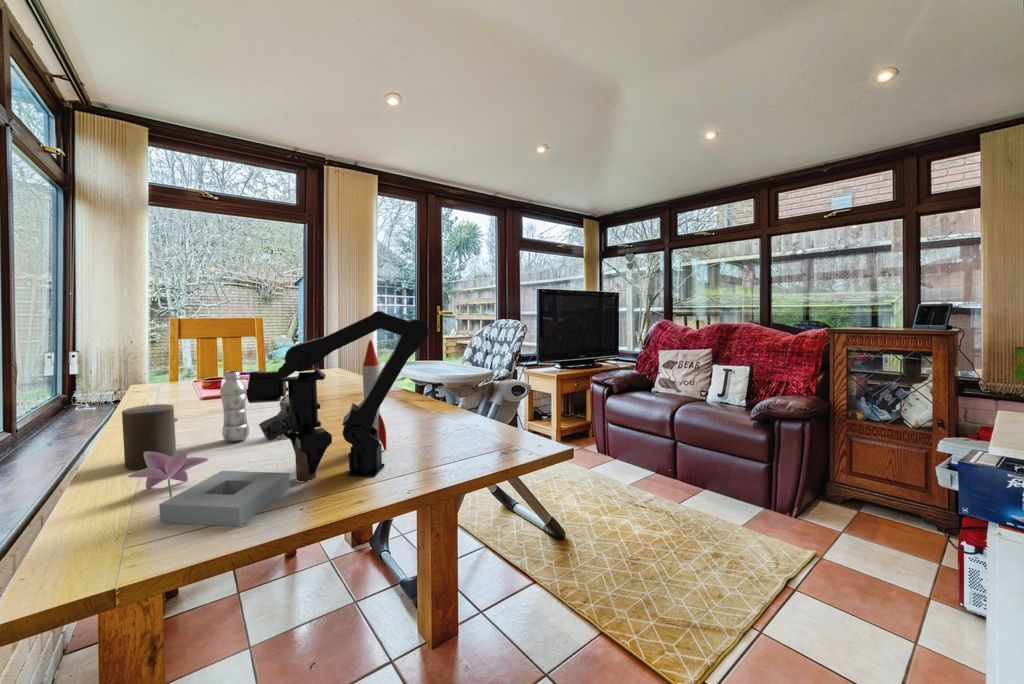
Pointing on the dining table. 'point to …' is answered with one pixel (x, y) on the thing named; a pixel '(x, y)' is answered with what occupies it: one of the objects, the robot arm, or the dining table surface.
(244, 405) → the plastic bottle
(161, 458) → the lily
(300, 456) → the walnut peg
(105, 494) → the dining table surface
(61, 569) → the dining table surface
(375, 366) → the toy rocket
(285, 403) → the figurine
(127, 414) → the pillar candle
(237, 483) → the socket block
